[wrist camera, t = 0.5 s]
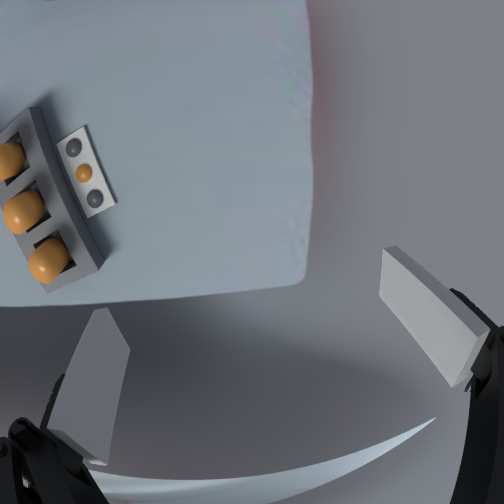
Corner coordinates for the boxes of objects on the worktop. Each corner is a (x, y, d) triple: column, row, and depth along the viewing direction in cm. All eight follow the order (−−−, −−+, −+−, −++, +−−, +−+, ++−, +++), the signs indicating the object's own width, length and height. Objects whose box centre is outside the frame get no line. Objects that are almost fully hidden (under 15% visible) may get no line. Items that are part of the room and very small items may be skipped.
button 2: (-1, 153, 25) (-19, 158, 21) (19, 135, 25) (0, 138, 21) (9, 181, 27) (-9, 189, 23) (28, 164, 27) (10, 171, 23)
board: (-7, 149, 26) (-18, 152, 24) (39, 107, 26) (28, 107, 23) (54, 284, 38) (47, 293, 35) (105, 260, 38) (98, 270, 35)
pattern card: (57, 144, 29) (55, 144, 29) (84, 126, 29) (82, 126, 29) (88, 217, 34) (87, 218, 34) (116, 203, 34) (114, 204, 34)
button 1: (37, 245, 32) (23, 258, 28) (58, 232, 32) (43, 245, 28) (53, 272, 34) (40, 287, 30) (74, 262, 34) (61, 277, 30)
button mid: (16, 198, 29) (-2, 208, 25) (36, 183, 29) (18, 191, 24) (29, 227, 31) (13, 239, 27) (49, 214, 31) (33, 225, 27)
